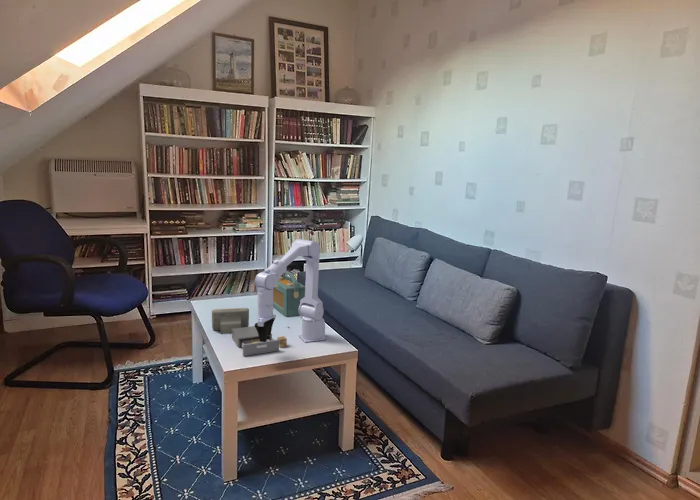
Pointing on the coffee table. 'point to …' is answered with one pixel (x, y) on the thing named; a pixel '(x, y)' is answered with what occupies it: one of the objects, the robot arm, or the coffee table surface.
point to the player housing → (245, 334)
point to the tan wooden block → (282, 341)
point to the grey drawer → (259, 346)
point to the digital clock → (229, 319)
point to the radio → (288, 295)
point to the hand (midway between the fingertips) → (265, 338)
